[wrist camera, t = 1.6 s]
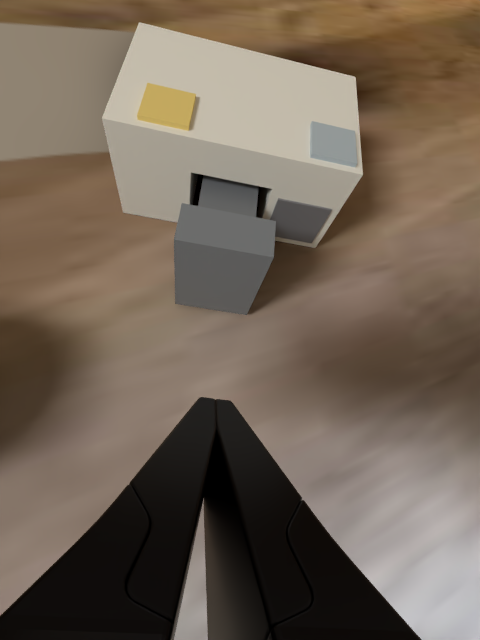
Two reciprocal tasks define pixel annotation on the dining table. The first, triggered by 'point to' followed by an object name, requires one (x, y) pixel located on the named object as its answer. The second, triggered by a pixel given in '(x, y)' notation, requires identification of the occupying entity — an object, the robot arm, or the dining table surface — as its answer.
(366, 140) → the dining table surface
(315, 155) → the port box
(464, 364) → the dining table surface
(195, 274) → the plug
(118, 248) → the dining table surface
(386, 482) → the dining table surface
